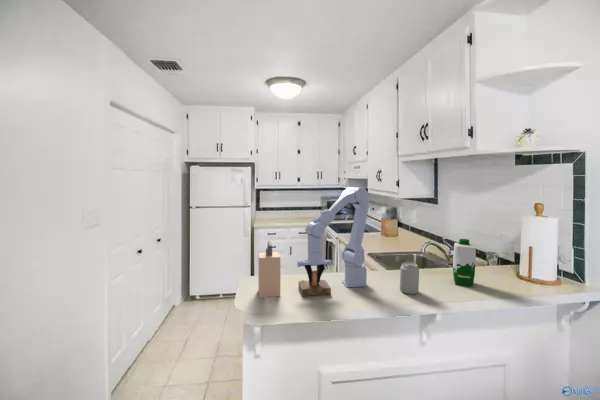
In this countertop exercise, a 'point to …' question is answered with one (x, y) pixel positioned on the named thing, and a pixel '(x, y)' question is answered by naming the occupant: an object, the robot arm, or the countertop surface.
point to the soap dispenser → (269, 273)
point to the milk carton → (464, 263)
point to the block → (314, 288)
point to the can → (409, 278)
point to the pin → (314, 277)
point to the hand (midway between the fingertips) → (314, 282)
